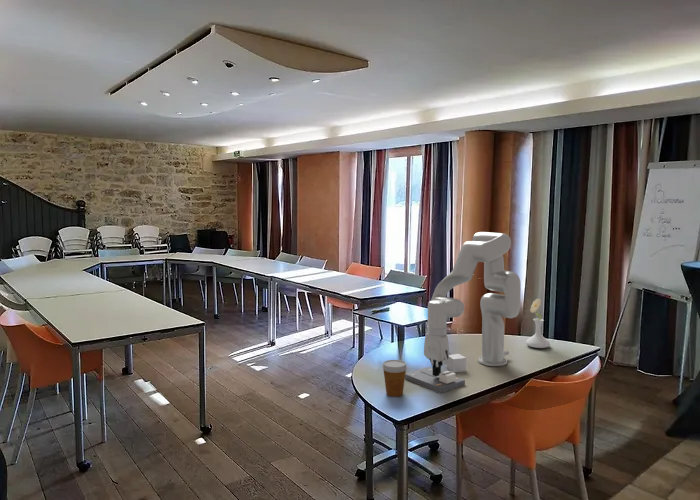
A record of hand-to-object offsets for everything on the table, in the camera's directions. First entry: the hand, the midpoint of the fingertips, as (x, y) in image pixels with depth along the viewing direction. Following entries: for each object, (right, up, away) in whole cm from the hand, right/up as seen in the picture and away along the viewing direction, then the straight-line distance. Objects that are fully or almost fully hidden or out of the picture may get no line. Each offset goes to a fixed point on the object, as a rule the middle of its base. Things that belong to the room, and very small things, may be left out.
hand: (436, 375), depth 204 cm
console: (-1, -3, +1) cm, 3 cm away
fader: (+3, -1, -5) cm, 6 cm away
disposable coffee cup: (-18, -5, -11) cm, 21 cm away
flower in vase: (+58, +2, +46) cm, 74 cm away
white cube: (+11, -2, +15) cm, 19 cm away
